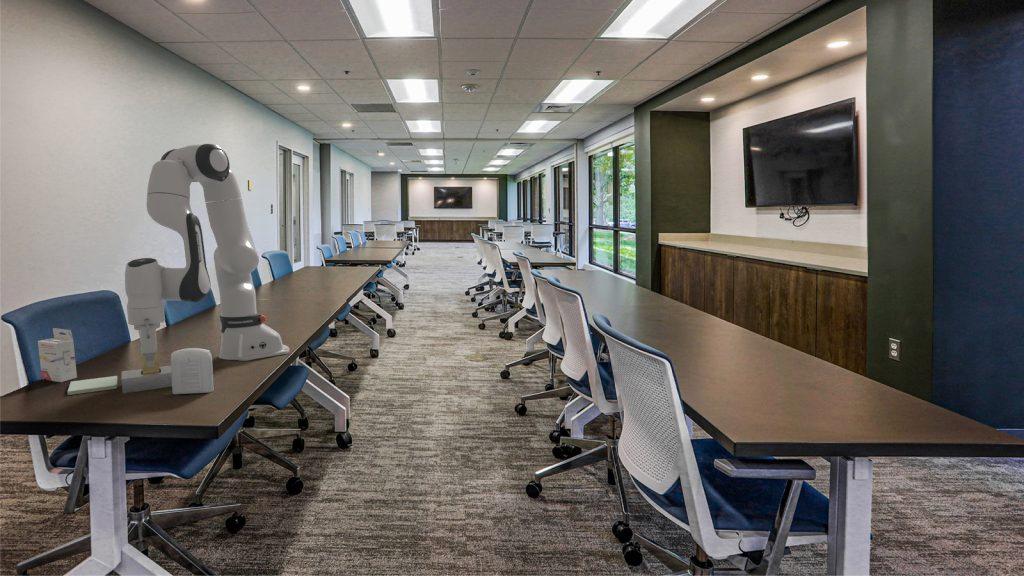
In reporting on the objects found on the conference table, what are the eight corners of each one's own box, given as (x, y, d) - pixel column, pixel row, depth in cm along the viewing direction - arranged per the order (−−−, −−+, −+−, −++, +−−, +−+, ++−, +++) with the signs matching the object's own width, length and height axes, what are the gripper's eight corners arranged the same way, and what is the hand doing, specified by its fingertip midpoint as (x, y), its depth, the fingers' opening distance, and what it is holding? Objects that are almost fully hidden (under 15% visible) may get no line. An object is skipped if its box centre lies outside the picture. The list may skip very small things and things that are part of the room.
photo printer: (215, 388, 165) (212, 345, 164) (211, 393, 161) (208, 349, 160) (175, 391, 163) (172, 347, 161) (170, 396, 159) (166, 351, 157)
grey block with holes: (194, 375, 178) (193, 362, 178) (196, 382, 171) (195, 369, 170) (123, 385, 169) (121, 371, 168) (122, 393, 161) (121, 378, 161)
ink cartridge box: (40, 379, 174) (35, 330, 172) (58, 375, 178) (53, 327, 177) (60, 382, 171) (55, 332, 169) (78, 378, 176) (73, 329, 174)
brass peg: (159, 382, 171) (157, 348, 170) (160, 385, 168) (157, 351, 167) (143, 384, 169) (140, 350, 168) (144, 388, 166) (141, 353, 165)
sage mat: (117, 379, 175) (117, 375, 174) (116, 388, 165) (116, 385, 165) (71, 384, 169) (70, 381, 169) (67, 395, 160) (67, 391, 159)
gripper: (160, 321, 159) (164, 371, 161) (158, 310, 176) (161, 355, 178) (133, 323, 156) (137, 374, 158) (133, 312, 173) (137, 358, 175)
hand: (150, 364), depth 168 cm, fingers closed on brass peg, 4 cm apart
